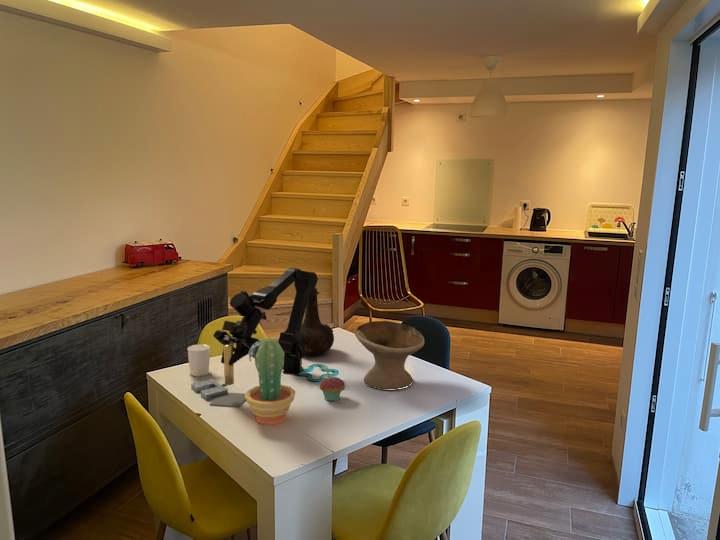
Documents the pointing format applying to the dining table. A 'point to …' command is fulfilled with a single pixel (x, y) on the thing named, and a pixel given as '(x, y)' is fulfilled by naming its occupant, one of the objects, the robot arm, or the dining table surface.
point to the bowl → (389, 352)
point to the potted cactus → (269, 383)
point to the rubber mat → (229, 400)
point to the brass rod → (227, 368)
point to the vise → (209, 389)
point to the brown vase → (315, 329)
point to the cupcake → (331, 387)
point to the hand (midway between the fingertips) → (225, 364)
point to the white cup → (199, 359)
